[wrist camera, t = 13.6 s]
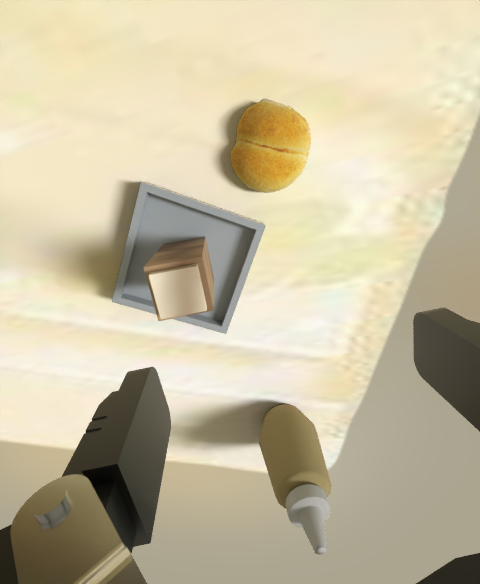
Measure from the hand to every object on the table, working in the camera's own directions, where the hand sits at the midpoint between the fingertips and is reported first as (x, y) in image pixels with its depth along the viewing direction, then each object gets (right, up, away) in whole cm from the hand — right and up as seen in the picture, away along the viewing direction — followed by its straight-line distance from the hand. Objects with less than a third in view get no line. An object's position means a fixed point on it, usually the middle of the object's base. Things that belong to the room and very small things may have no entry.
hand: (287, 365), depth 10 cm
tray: (-8, +6, +29) cm, 31 cm away
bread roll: (+2, +18, +26) cm, 32 cm away
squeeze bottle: (+5, -17, +38) cm, 42 cm away
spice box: (-8, +6, +28) cm, 30 cm away
